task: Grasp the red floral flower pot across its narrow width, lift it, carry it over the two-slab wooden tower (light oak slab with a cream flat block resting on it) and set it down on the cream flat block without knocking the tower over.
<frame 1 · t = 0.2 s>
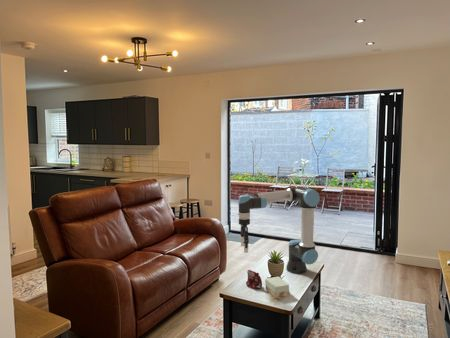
hand: (244, 249, 236), 27 cm above the table, fingers open, 13 cm apart
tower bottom: (277, 293, 229), on the table
cream flat block: (276, 287, 229), point 4 cm above the table
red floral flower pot: (254, 286, 239), on the table
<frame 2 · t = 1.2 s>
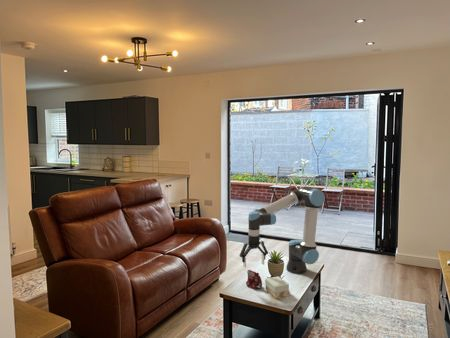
hand: (253, 265, 237), 15 cm above the table, fingers open, 13 cm apart
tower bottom: (277, 293, 229), on the table, touching cream flat block
cream flat block: (276, 287, 229), point 4 cm above the table, touching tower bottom
everything else where it was.
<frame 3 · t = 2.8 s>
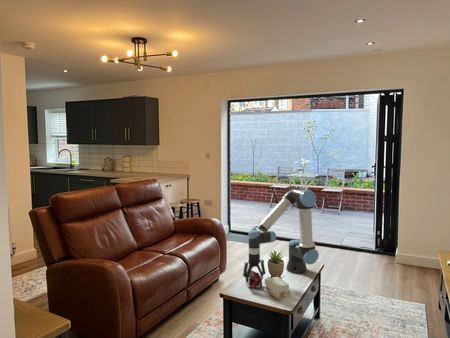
hand: (254, 285, 239), 1 cm above the table, fingers closed on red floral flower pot, 8 cm apart
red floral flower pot: (254, 286, 239), on the table, touching gripper
everything else where it was.
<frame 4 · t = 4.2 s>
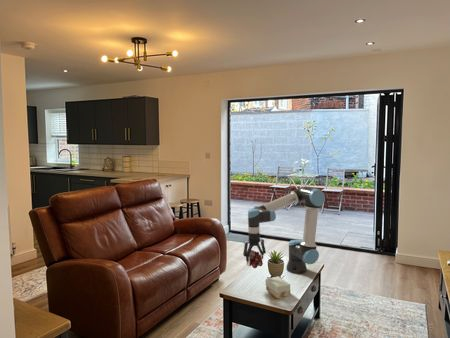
hand: (254, 264, 238), 15 cm above the table, fingers closed on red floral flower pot, 8 cm apart
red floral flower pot: (254, 266, 238), point 14 cm above the table, touching gripper
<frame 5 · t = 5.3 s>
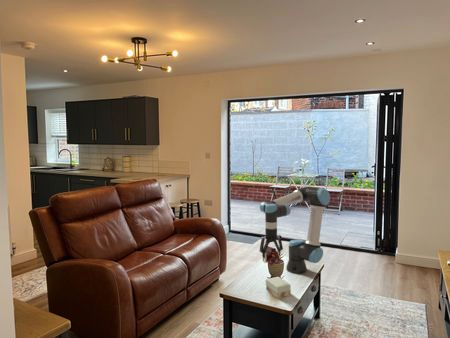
hand: (271, 261, 230), 20 cm above the table, fingers closed on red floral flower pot, 8 cm apart
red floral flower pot: (271, 263, 230), point 19 cm above the table, touching gripper
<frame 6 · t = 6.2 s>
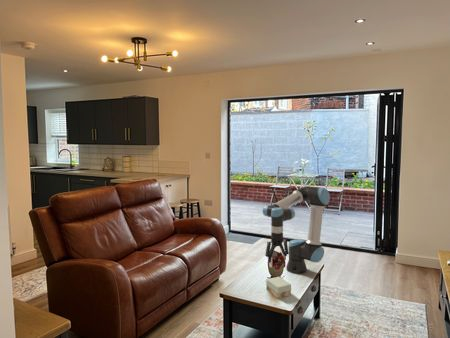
hand: (277, 265, 227), 18 cm above the table, fingers closed on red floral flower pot, 8 cm apart
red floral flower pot: (277, 267, 228), point 17 cm above the table, touching gripper
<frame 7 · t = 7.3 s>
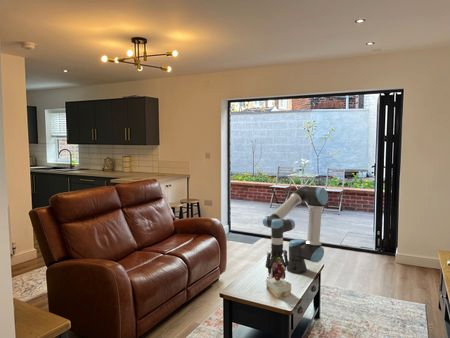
hand: (277, 276, 228), 11 cm above the table, fingers closed on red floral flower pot, 8 cm apart
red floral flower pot: (277, 278, 228), point 10 cm above the table, touching gripper
when the fingers open (9 cm above the table, at t = 8.1 s): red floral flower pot moves 2 cm, resting on cream flat block.
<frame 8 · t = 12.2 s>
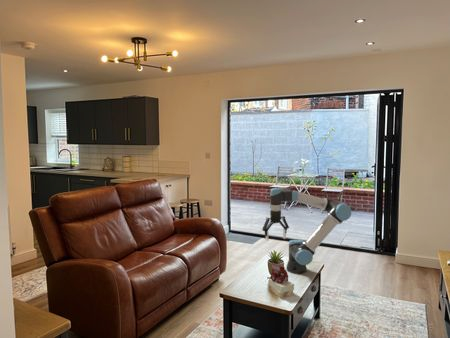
hand: (275, 239, 249), 29 cm above the table, fingers open, 13 cm apart
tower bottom: (280, 292, 230), on the table, touching cream flat block
cream flat block: (281, 287, 229), point 3 cm above the table, touching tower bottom, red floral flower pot
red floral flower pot: (279, 281, 229), point 7 cm above the table, touching cream flat block
at the end: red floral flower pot inside the target area on the cream flat block (1.2 cm from its centre), point 3.8 cm above the cream flat block's base; cream flat block point 3.3 cm above the table; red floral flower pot tilted 1° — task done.
